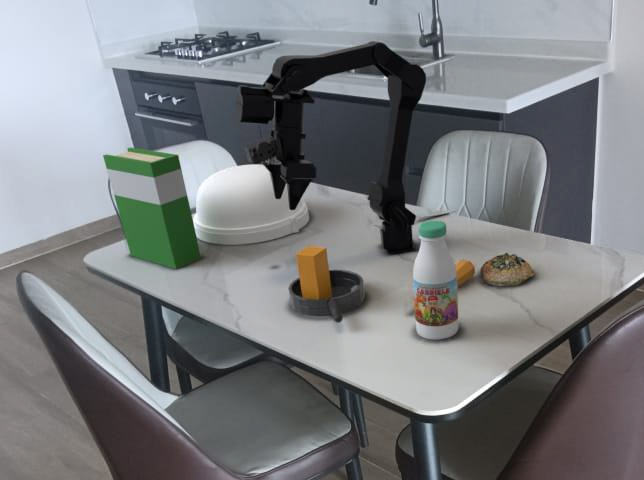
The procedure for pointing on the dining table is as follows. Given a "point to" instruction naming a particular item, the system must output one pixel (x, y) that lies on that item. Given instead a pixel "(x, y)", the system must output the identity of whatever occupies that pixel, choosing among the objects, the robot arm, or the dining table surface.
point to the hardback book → (153, 206)
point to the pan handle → (335, 310)
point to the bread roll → (506, 270)
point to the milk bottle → (435, 284)
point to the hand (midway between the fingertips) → (284, 204)
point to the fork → (428, 215)
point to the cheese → (314, 273)
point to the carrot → (464, 271)
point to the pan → (344, 291)
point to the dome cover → (244, 208)
